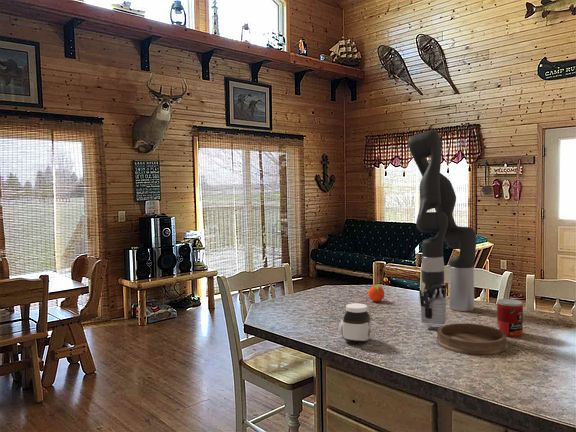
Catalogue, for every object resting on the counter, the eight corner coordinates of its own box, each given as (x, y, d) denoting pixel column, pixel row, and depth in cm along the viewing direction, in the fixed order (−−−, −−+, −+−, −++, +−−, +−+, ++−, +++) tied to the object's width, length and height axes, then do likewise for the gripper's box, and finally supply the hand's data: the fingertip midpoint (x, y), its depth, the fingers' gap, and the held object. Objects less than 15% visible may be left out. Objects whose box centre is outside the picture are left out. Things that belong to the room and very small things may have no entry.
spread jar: (361, 347, 150) (361, 310, 149) (329, 341, 156) (329, 306, 155) (376, 336, 160) (375, 302, 159) (345, 332, 166) (344, 298, 165)
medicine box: (446, 321, 169) (445, 297, 168) (444, 325, 165) (444, 300, 164) (423, 319, 172) (422, 295, 172) (421, 322, 168) (420, 298, 168)
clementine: (386, 303, 204) (386, 287, 204) (370, 304, 204) (369, 287, 204) (383, 299, 212) (382, 283, 212) (367, 299, 212) (367, 283, 212)
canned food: (512, 339, 155) (512, 305, 154) (491, 332, 162) (491, 300, 161) (528, 335, 158) (528, 302, 157) (507, 329, 165) (507, 297, 164)
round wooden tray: (458, 329, 166) (457, 319, 166) (519, 343, 150) (519, 332, 150) (423, 343, 152) (423, 332, 152) (487, 360, 136) (487, 348, 136)
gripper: (434, 265, 175) (435, 310, 176) (411, 270, 165) (412, 318, 166) (453, 267, 169) (453, 314, 170) (431, 273, 160) (431, 322, 161)
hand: (433, 316), depth 168 cm, fingers closed on medicine box, 5 cm apart
